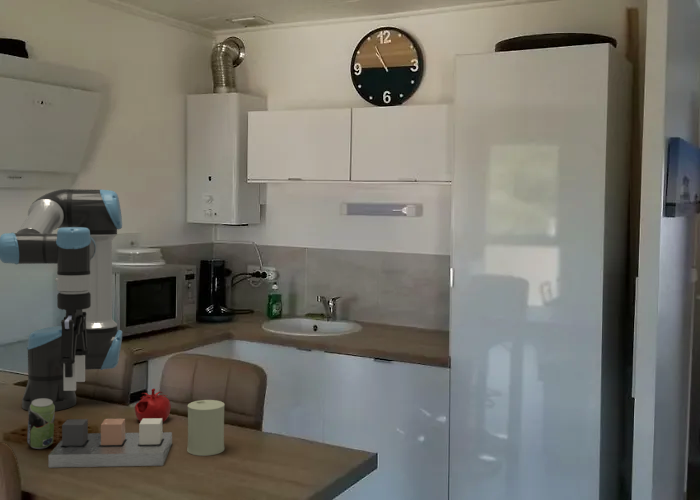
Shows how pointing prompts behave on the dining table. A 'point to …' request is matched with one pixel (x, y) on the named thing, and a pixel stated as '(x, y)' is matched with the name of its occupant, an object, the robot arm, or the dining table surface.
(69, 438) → the charcoal key
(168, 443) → the key panel
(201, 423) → the can
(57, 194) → the robot arm
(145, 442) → the cream key
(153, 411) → the pomegranate
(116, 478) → the dining table surface
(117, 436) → the terracotta key
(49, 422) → the beverage can
